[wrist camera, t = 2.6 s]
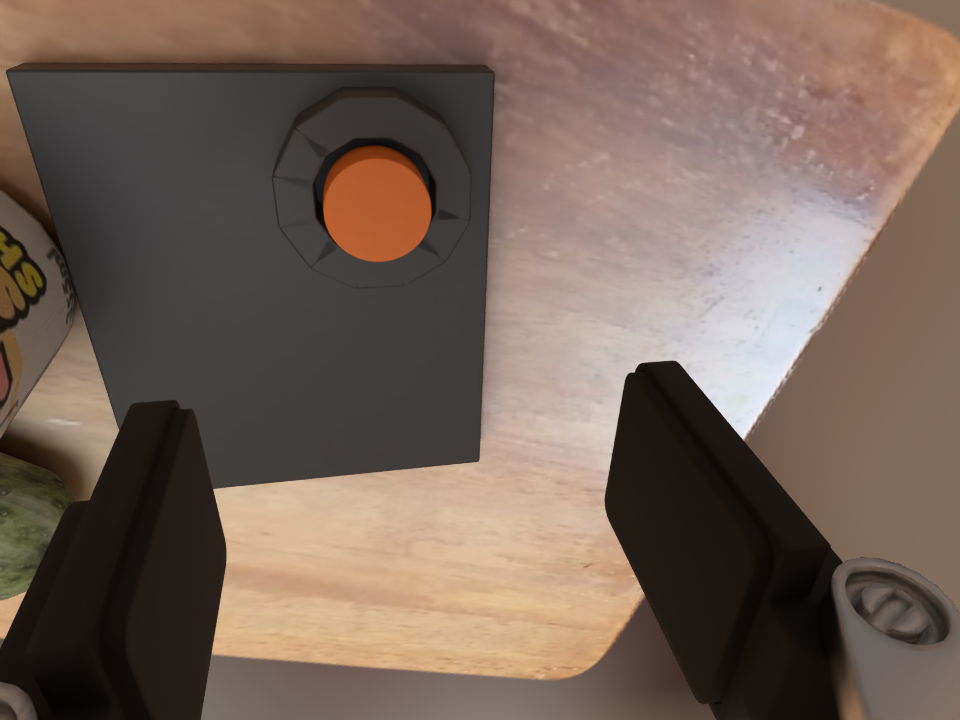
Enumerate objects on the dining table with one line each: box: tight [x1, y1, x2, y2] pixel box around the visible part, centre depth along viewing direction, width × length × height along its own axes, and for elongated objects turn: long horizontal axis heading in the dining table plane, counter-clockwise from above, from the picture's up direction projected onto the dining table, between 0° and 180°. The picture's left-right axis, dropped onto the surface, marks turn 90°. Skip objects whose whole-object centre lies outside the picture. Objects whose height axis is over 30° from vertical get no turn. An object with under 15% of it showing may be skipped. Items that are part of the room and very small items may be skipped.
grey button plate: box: [6, 63, 495, 489], centre depth 24 cm, size 16×14×3 cm
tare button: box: [323, 145, 432, 262], centre depth 21 cm, size 3×3×2 cm
